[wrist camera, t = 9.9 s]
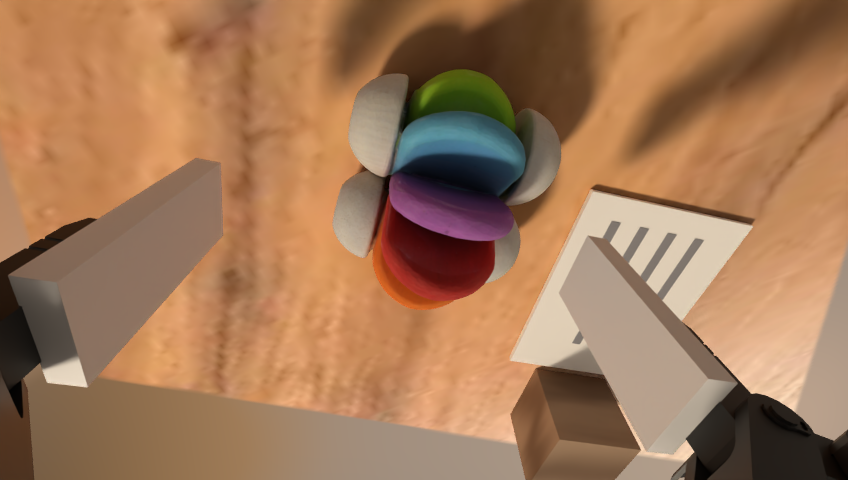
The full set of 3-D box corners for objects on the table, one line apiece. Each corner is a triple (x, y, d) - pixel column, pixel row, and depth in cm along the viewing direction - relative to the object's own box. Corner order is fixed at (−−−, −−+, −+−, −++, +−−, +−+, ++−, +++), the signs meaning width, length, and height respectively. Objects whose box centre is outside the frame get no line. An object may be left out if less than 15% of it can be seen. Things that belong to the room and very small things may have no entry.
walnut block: (535, 367, 25) (559, 439, 21) (604, 378, 26) (641, 450, 22) (510, 413, 28) (527, 486, 24) (573, 422, 28) (601, 494, 24)
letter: (590, 189, 19) (593, 191, 18) (748, 223, 20) (753, 226, 20) (509, 356, 25) (510, 361, 24) (634, 376, 26) (637, 380, 25)
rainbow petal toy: (334, 235, 20) (297, 335, 14) (373, 34, 15) (342, 47, 9) (485, 270, 21) (514, 376, 15) (563, 94, 17) (652, 142, 10)
